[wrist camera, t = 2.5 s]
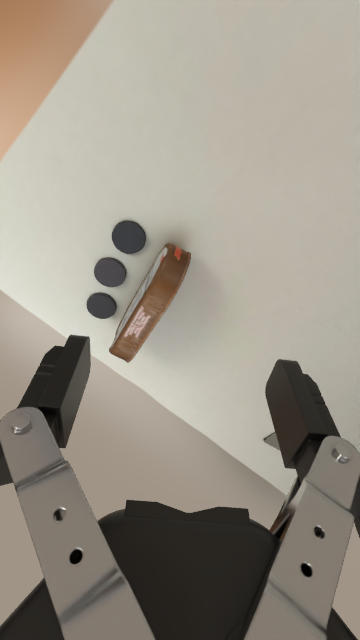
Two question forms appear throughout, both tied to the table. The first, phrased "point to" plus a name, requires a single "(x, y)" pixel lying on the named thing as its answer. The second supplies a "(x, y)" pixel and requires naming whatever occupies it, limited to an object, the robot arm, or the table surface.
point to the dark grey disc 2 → (101, 305)
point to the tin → (150, 301)
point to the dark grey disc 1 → (110, 272)
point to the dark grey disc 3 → (128, 237)
